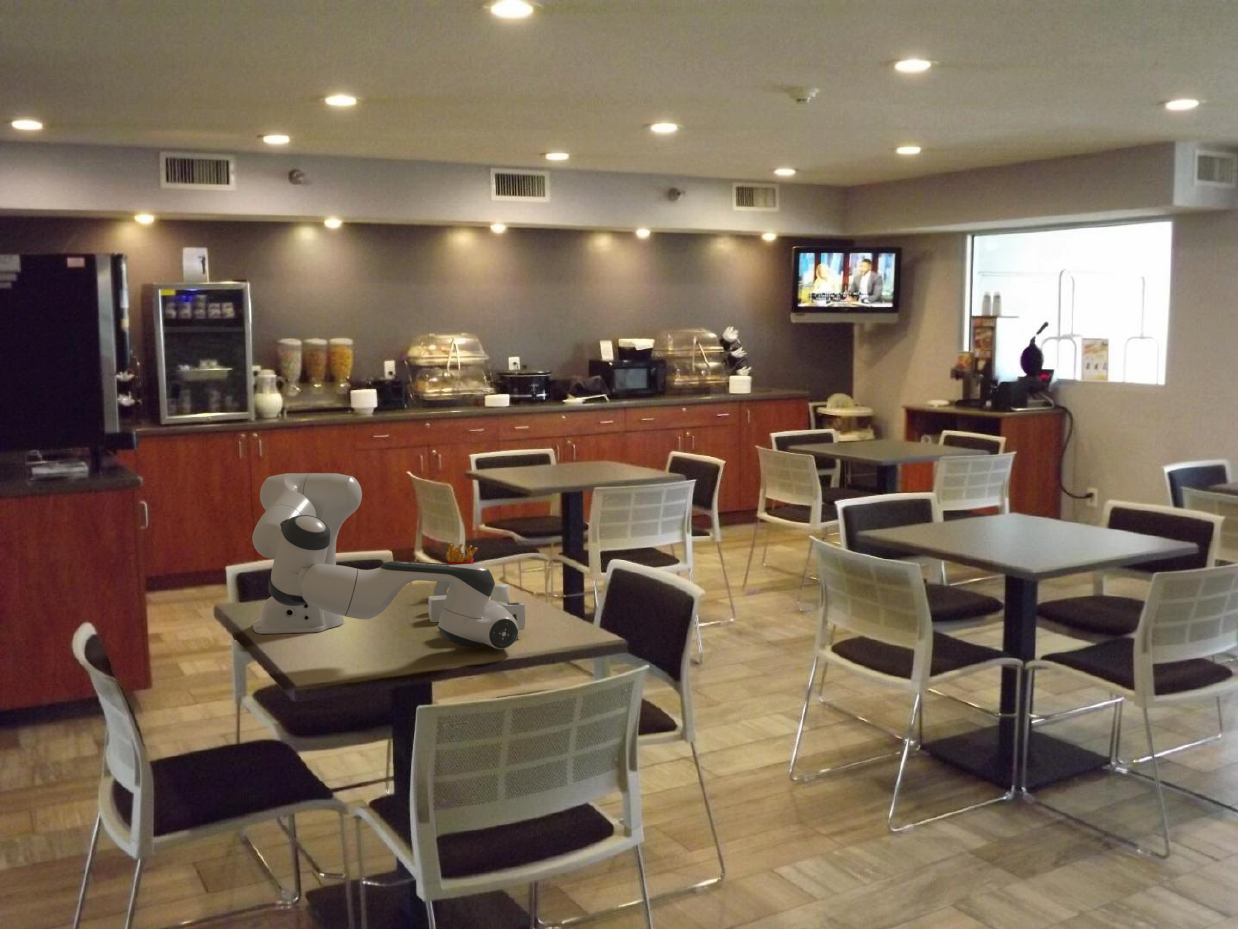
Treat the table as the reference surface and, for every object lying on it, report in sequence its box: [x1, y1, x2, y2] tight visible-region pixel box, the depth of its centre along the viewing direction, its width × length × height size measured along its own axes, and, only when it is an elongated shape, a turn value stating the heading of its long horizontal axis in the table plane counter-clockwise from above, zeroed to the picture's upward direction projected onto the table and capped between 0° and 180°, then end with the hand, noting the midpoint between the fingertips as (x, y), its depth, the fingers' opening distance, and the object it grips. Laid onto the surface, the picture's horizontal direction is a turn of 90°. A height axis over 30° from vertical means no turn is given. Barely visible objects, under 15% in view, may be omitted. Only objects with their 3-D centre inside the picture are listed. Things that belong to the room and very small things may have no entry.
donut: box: [433, 581, 449, 596], centre depth 316 cm, size 10×4×10 cm, turn 119°
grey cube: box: [427, 595, 447, 623], centre depth 304 cm, size 5×5×6 cm
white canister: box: [490, 583, 511, 603], centre depth 309 cm, size 5×5×8 cm
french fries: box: [445, 542, 478, 564], centre depth 334 cm, size 9×8×15 cm
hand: (479, 607), depth 296 cm, fingers open, 8 cm apart
